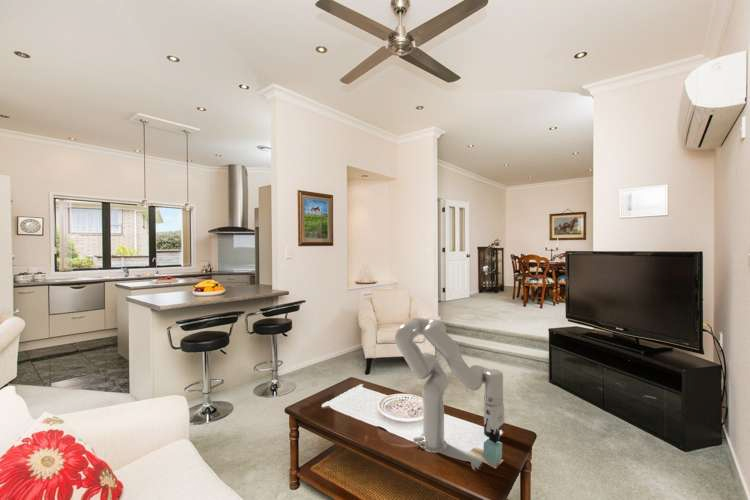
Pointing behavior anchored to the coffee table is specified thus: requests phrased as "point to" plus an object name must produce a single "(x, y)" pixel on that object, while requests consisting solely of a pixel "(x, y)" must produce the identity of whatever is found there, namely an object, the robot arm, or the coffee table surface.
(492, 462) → the post
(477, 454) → the board
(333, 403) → the coffee table surface
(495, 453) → the mint green cube
